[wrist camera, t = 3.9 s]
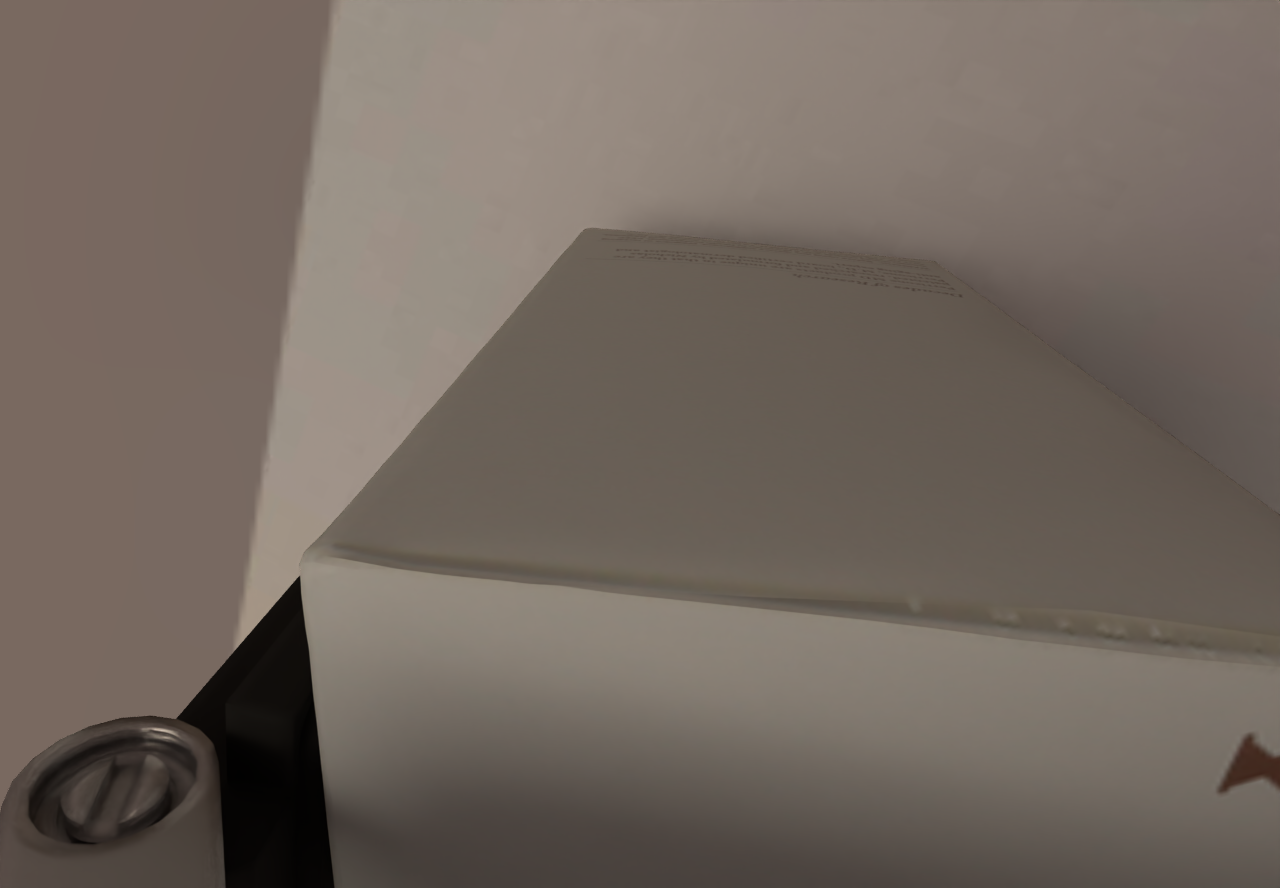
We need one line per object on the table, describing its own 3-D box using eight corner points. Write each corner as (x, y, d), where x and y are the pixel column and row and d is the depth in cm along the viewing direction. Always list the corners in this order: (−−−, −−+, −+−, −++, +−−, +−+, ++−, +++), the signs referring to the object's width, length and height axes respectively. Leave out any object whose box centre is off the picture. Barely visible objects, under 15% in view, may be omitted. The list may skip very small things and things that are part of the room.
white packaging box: (577, 217, 16) (263, 514, 5) (945, 256, 16) (1576, 670, 4) (559, 533, 19) (336, 1196, 8) (868, 570, 19) (1126, 1310, 7)
